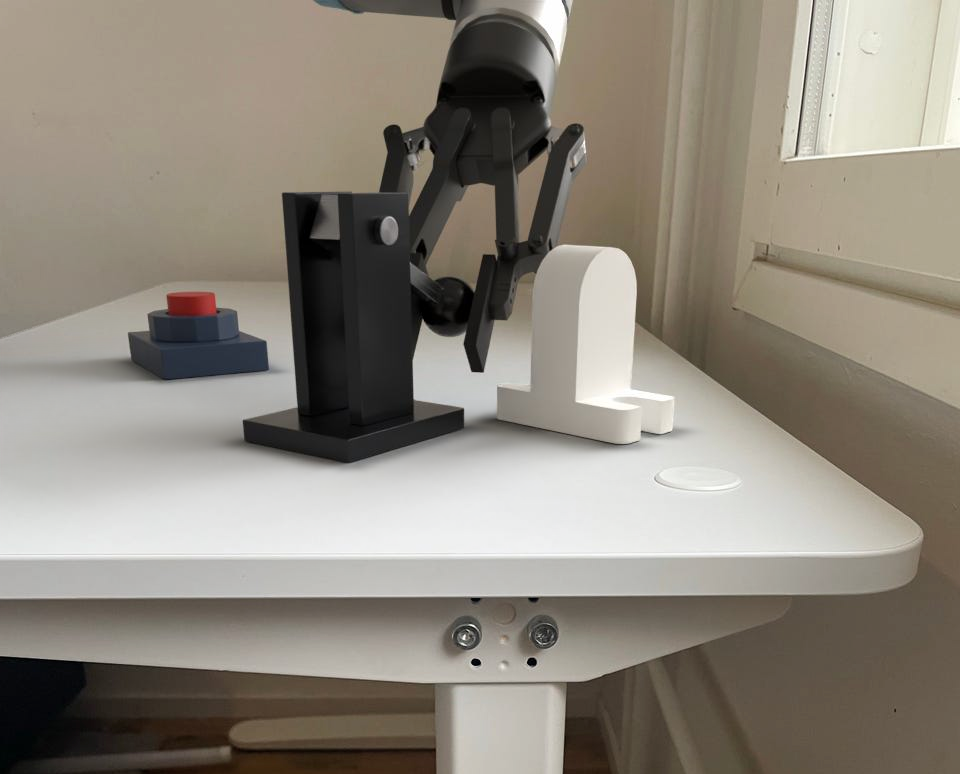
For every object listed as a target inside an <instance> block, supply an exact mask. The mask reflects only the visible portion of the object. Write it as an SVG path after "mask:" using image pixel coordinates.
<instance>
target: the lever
mask: <svg viewBox="0 0 960 774" xmlns="http://www.w3.org/2000/svg"><path fill="white" fill-rule="evenodd" d="M310 239H312V240H313V241H315V242H316V243H317V244H319V245H320V246H322V247H323V248H324V249H326V250H327V251H329V252H330V253H331V254H333V255H334V256H336V257H337V258H338V259H340V260H341V250H340V231H339V212H338V195H322V196H321V199H320V203H319V206H318V209H317V213H316V216H315V220H314V223H313V227H312V230H311V234H310ZM410 276H411V292H412V293H413V294H414V295H416V296H417V297H418V298H420V299H421V302H420V310H421V315H422V318H423V320H422V321H423V322H424V324H425V326H426V327H427V328H428V329H429V330H430V331H431V332H432V333H434V334H436V335H437V336H440V337H444V338H455V337H459V336H462V335H464V334H466V329H467V325H468V320H469V316H470V311H471V307H472V302H473V297H474V293H475V288H473V286H472V285H471V284H470V283H469V282H468V281H466V280H465V279H463V278H461V277H459V276H456V275H444V276H440V277H436V279H433V278H432V277H430V275H429V276H427V275H426V274H425V273H423V272H422V271H421V270H420V269H418V268H417V267H416V266H414V265H413V264H412V263H411V262H410Z"/></svg>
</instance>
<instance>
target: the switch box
mask: <svg viewBox="0 0 960 774" xmlns="http://www.w3.org/2000/svg"><path fill="white" fill-rule="evenodd" d="M216 310H217V313H216V314H209V315H195V316H177V315H169V314H168V308H165V309H164V308H163V309H157V310H153V311H150V312H148V313H147V314H146V315H147V323H148V329H149V330H141V331H140V330H139V331H138V330H137V331H128V332H127V337H128V344H129V352H130V353H129V354H130V360H131V361H133V362H134V363H136V364H138V365H139V366H141V367H143V368H144V369H146V370H148V371H150V372H151V373H153V374H155V375H156V376H158V377H159V378H161V379H163V380H165V381H166V380H177V379H188V378H198V377H209V376H210V377H211V376H220V375H230V374H242V373H253V372H254V373H255V372H263V371H269V370H270V366H269V354H268V342H267V340H265V339H263V338H260V337H257V336H254V335H251V334H249V333H246V332H243V331H241V330H240V328H239V318H238V311H237V310H235V309H232V308H227V307H216Z"/></svg>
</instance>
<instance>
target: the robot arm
mask: <svg viewBox="0 0 960 774" xmlns="http://www.w3.org/2000/svg"><path fill="white" fill-rule="evenodd" d="M312 1H313V2H314V3H316V4H317V5H319V6H321V7H324V8H331V9H338V10H343V11H348V12H350V13H353V15H363V14H364V13H372V14H384V15H385V14H386V15H398V16H409V17H410V16H412V17H422V18H423V17H424V18H427V17H428V18H435V19H436V18H439V19H446V20H449V21H455V23H454V26H453V30H452V33H451V36H450V42H449V48H448V51H447V54H446V59H445V62H444V66H443V70H442V74H441V78H440V82H439V85H438V90H437V96H436V103H435V106H434V108H433V109H432V111H430V112H429V114H428V115H427V116H426V118H425V119H424V122H423V126H421V127H418V128H415V129H412V130H408V131H404V132H402V128H401V127H400V125H398V124H393V123H392V124H389V125H387V126H386V127H385V128H384V129H383V131H382V136H383V140H384V143H385V148H386V151H387V152H386V157H385V163H384V166H383V171H382V176H381V181H380V184H379V185H380V186H379V190H378V192H408V199H409V204H410V203H411V198H412V193H413V189H414V182H415V181H414V179H415V177H414V171H418V170H419V168H420V164H419V163H420V162H421V160H422V155H423V153H424V152H425V151H426V150H428V149H429V150H430V152H431V153H432V155H433V159H432V169H431V171H430V172H429V175H428V177H427V179H426V181H425V183H424V185H423V187H422V189H421V191H420V193H419V195H418V197H417V199H416V201H415V203H414V205H413V207H412V209H411V211H410V212H409V237H410V262H411V263H412V264H413V265H414V266H416V267H417V268H418V269H420V270H421V271H422V272H423V273H425V274H426V275H427V276H429V277H430V275H429V272H428V268H427V264H428V262H429V260H430V258H431V255H432V253H433V252H434V249H435V247H436V245H437V243H438V241H439V239H440V237H441V235H442V233H443V231H444V228H446V227H445V226H446V224H447V222H448V220H449V218H450V216H451V214H452V213H453V210H454V208H455V206H456V204H457V202H461V201H463V198H464V196H465V194H466V192H467V190H468V187H469V186H475V185H478V184H483V185H487V186H488V185H489V186H493V187H494V207H495V208H494V209H495V211H494V212H495V239H494V243H495V248H496V253H497V257H496V254H491V253H490V254H489V253H488V254H487V253H486V254H484V253H483V254H482V257H481V261H480V265H479V271H478V275H477V280H476V284H475V288H474V291H475V293H474V297H473V302H472V307H471V311H470V316H469V320H468V325H467V329H466V332H465V333H464V334H465V335H464V339H463V344H462V345H463V348H464V352H465V355H466V359H467V361H468V364H469V365H468V366H469V368H470V371H471V373H479V374H481V373H482V374H484V373H485V368H486V363H487V358H488V355H489V354H488V353H489V349H490V344H491V339H492V335H493V330H494V326H495V325H494V324H495V321H508V320H509V318H510V317H511V315H512V314H513V309H514V306H515V305H514V304H515V300H516V295H517V290H518V285H519V281H520V279H521V278H522V277H523V276H525V275H527V274H531V273H534V274H535V275H536V274H537V271H538V269H539V266H540V264H541V262H542V260H543V259H544V258H545V257H546V255H547V254H548V253H549V252H550V251H551V250H553V249H554V248H555V247H557V246H558V243H559V239H560V234H561V231H562V227H563V222H564V219H565V214H566V209H567V206H568V203H569V197H570V193H571V189H572V186H573V182H574V180H576V178H577V176H578V175H579V174H580V172H581V171H582V170H583V168H584V166H586V164H587V161H588V158H587V146H586V137H585V128H584V126H583V125H582V124H581V123H577V122H575V123H571V124H569V125H567V126H566V127H565V129H561V128H558V127H556V126H552V120H551V117H550V116H551V112H552V105H553V102H554V101H553V100H554V97H555V92H556V86H557V79H558V74H559V69H560V65H561V61H562V56H563V51H564V46H565V43H566V42H565V41H566V36H567V32H568V25H569V20H570V15H571V11H572V7H573V3H574V0H312ZM545 152H547V162H546V166H545V170H544V173H543V178H542V181H541V186H540V189H539V194H538V197H537V201H536V205H535V208H534V212H533V217H532V221H531V224H530V228H529V233H528V237H527V240H524V241H521V224H520V223H521V222H520V181H519V180H520V178H519V177H520V174H521V173H522V172H523V171H524V170H526V169H527V168H528V167H530V165H531V164H533V162H535V161H536V160H537V159H538V158H539V157H540V156H542V155H543V154H544V153H545ZM420 302H421V299H420V298H418V297H417V296H416V295H414V294H413V293H412V292H411V315H412V354H413V358H414V357H415V353H416V349H417V345H418V340H419V336H420V333H421V328H422V324H423V321H424V320H423V318H422V315H421V310H420Z"/></svg>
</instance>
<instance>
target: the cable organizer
mask: <svg viewBox="0 0 960 774" xmlns="http://www.w3.org/2000/svg"><path fill="white" fill-rule="evenodd" d="M637 282H638V281H637V275H636V270H635V268H634V265H633V263H632V260H631V258H630V257H629V255H627V253H626V252H625V251H623V250H622V249H620V248H618V247H613V246H597V245H596V246H595V245H579V244H578V245H577V244H561V245H557V247H555V248H554V249H553V250H551V251H550V252H549V253H548V254H547V255H546V257H545V258H544V259H543V260H542V262H541V264H540V266H539V269H538V271H537V274H535V278H534V281H533V288H532V297H531V299H532V301H531V302H532V303H531V341H530V342H531V347H530V353H531V354H530V384H526V383H519V382H513V381H509V382H504V383H498V384H497V386H496V390H497V391H496V419H497V420H500V421H504V422H508V423H509V422H510V423H514V424H518V425H523V426H529V427H532V428H538V429H542V430H548V431H553V432H557V433H563V434H566V435H572V436H577V437H582V438H586V439H590V440H591V439H592V440H596V441H601V442H606V443H611V444H615V445H627V444H631V443H632V444H633V443H635V442H638V441H639V442H640V441H641V436H642V435H641V433H642V432H646V433H650V434H651V433H652V434H656V435H664V434H667V433H670V432H672V431H673V424H674V411H675V399H676V398H675V396H672V395H667V394H661V393H656V392H649V391H643V390H636V389H632V374H633V361H634V360H633V359H634V343H635V328H636V314H637V313H636V311H637V294H638V293H637V292H638V287H637V285H638V283H637Z"/></svg>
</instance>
